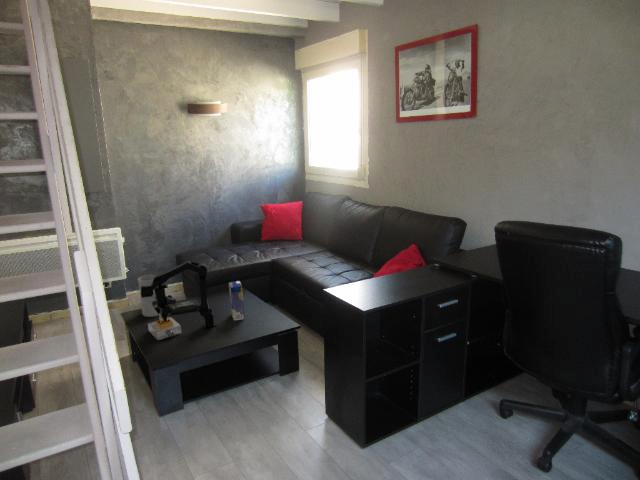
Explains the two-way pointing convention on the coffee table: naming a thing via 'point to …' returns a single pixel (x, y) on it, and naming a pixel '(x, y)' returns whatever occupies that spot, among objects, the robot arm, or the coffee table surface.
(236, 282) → the beverage box
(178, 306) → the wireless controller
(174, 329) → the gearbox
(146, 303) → the cylinder vase
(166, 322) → the brass can
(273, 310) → the coffee table surface
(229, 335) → the coffee table surface
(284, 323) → the coffee table surface
